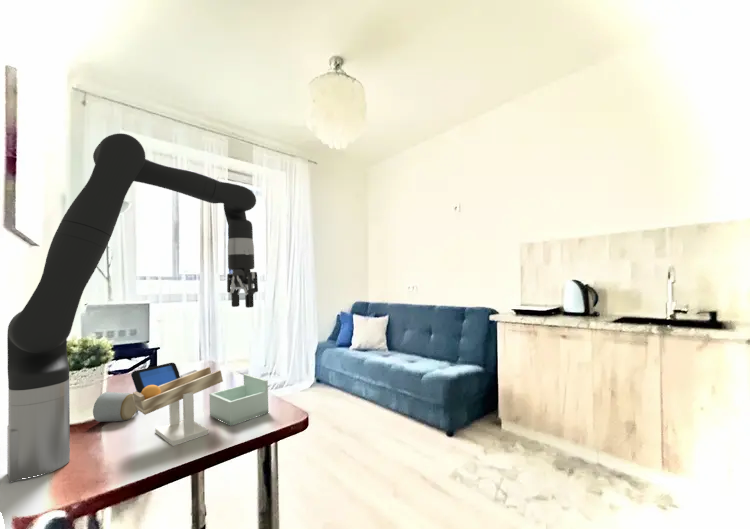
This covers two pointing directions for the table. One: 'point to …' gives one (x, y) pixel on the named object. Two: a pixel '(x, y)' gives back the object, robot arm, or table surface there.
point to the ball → (150, 391)
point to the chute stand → (181, 423)
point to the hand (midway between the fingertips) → (242, 307)
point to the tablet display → (154, 376)
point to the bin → (240, 401)
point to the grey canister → (114, 407)
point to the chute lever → (177, 389)
